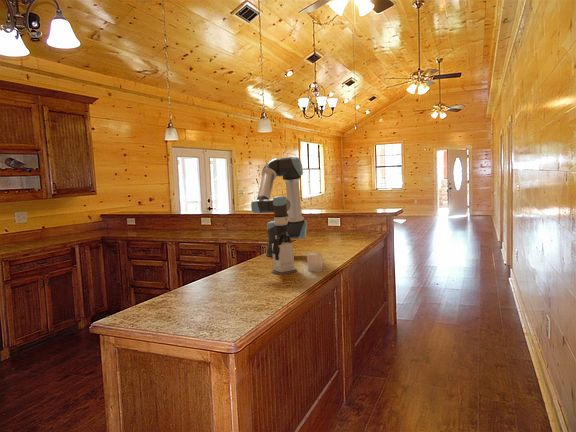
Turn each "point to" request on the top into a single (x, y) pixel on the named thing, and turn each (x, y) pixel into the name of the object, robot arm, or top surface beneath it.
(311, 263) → the beige rounded cylinder
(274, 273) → the base disk
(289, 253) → the supplement box
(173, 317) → the top surface
